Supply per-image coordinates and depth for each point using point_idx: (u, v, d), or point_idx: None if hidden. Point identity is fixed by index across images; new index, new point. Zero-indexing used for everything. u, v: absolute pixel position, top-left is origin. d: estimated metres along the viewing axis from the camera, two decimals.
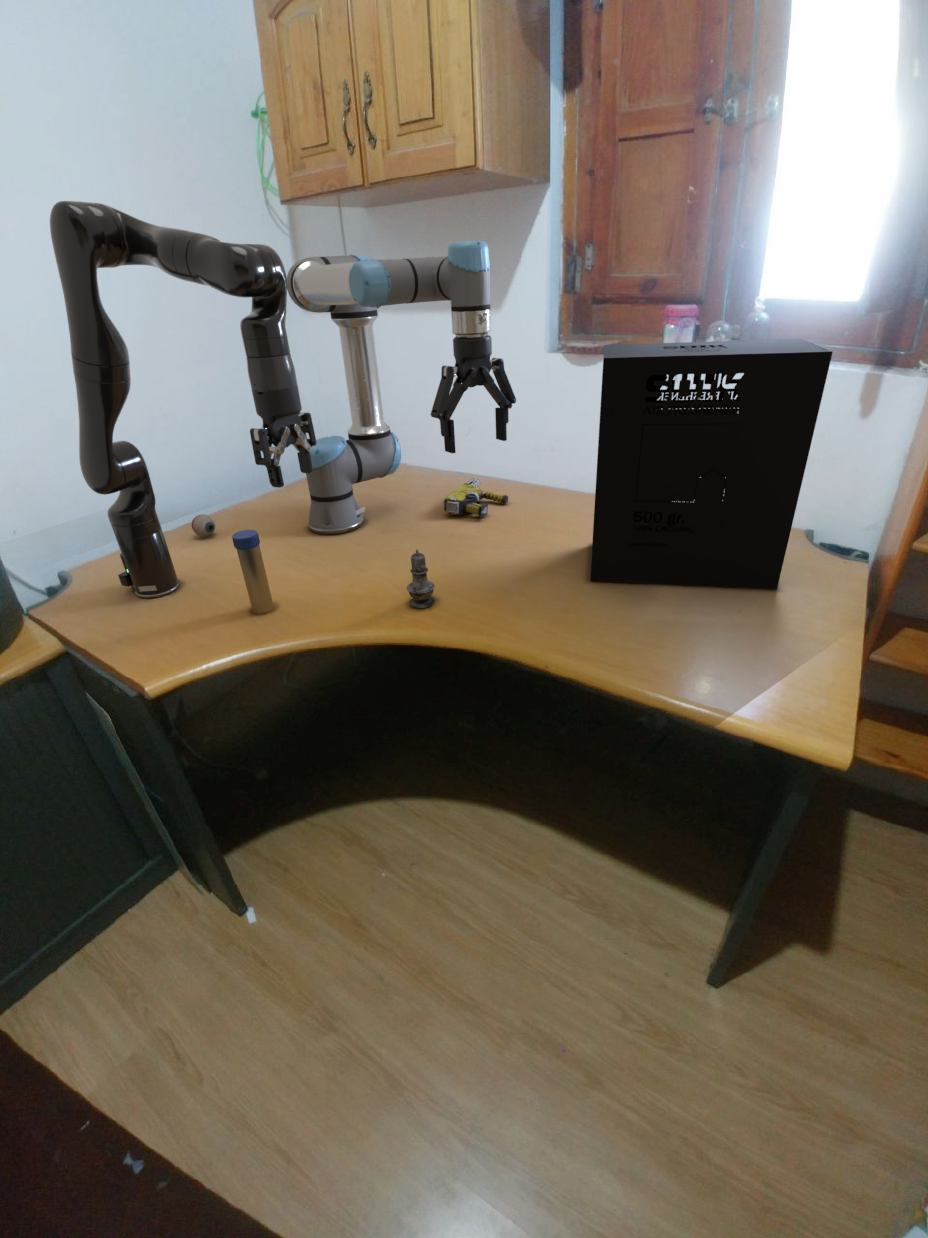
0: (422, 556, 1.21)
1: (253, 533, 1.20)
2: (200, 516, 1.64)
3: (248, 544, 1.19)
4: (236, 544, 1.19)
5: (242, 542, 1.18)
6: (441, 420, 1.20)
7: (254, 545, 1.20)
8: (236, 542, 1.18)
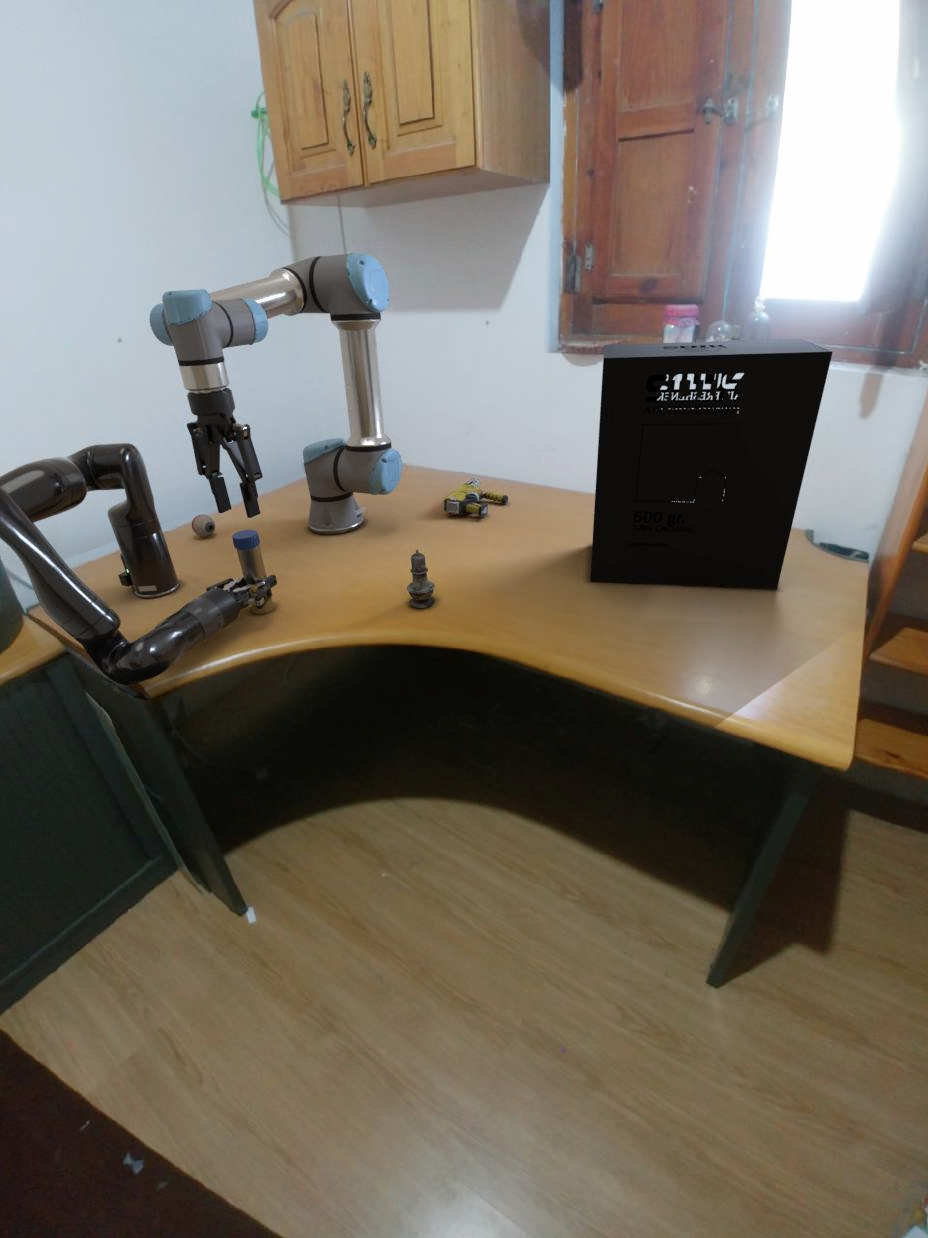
0: (422, 556, 1.21)
1: (253, 533, 1.20)
2: (200, 516, 1.64)
3: (248, 544, 1.19)
4: (236, 544, 1.19)
5: (242, 542, 1.18)
6: (252, 482, 1.12)
7: (254, 545, 1.20)
8: (236, 542, 1.18)
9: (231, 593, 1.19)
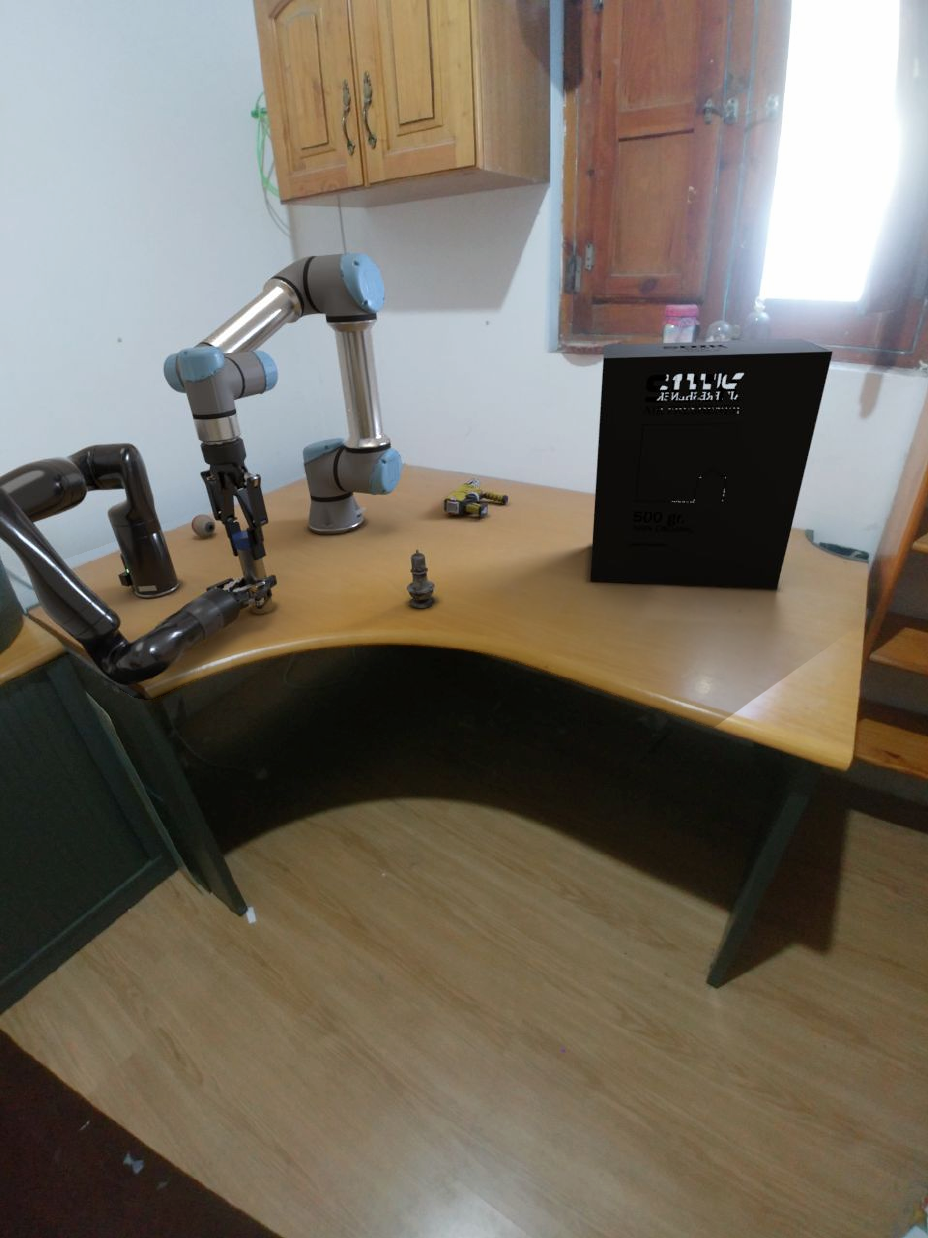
0: (422, 556, 1.21)
1: None
2: (200, 516, 1.64)
3: (247, 544, 1.19)
4: (236, 544, 1.19)
5: (242, 542, 1.18)
6: (259, 528, 1.17)
7: None
8: (236, 542, 1.18)
9: (231, 593, 1.19)
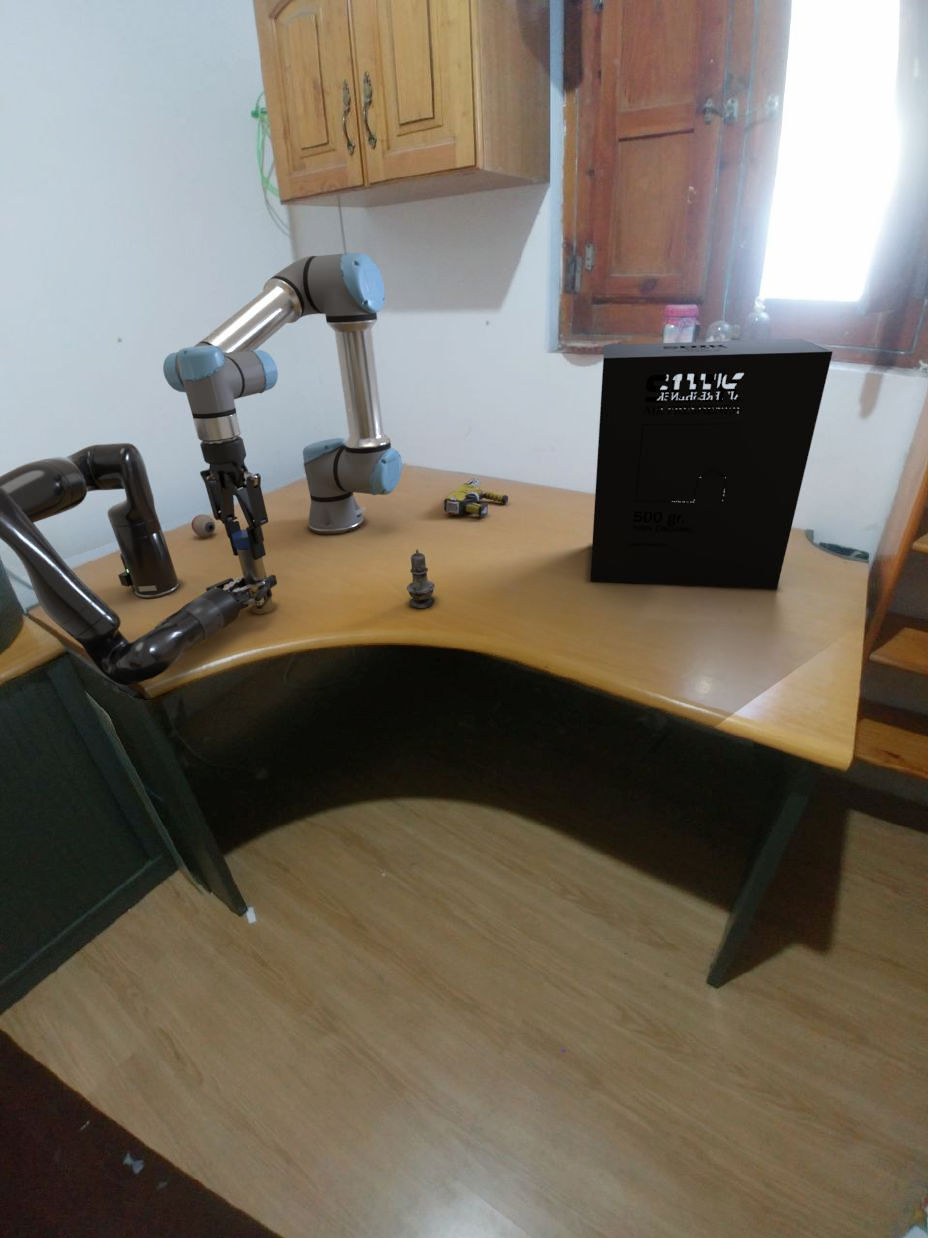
0: (422, 556, 1.21)
1: (243, 530, 1.21)
2: (200, 516, 1.64)
3: None
4: None
5: None
6: (259, 527, 1.17)
7: None
8: None
9: (231, 593, 1.19)
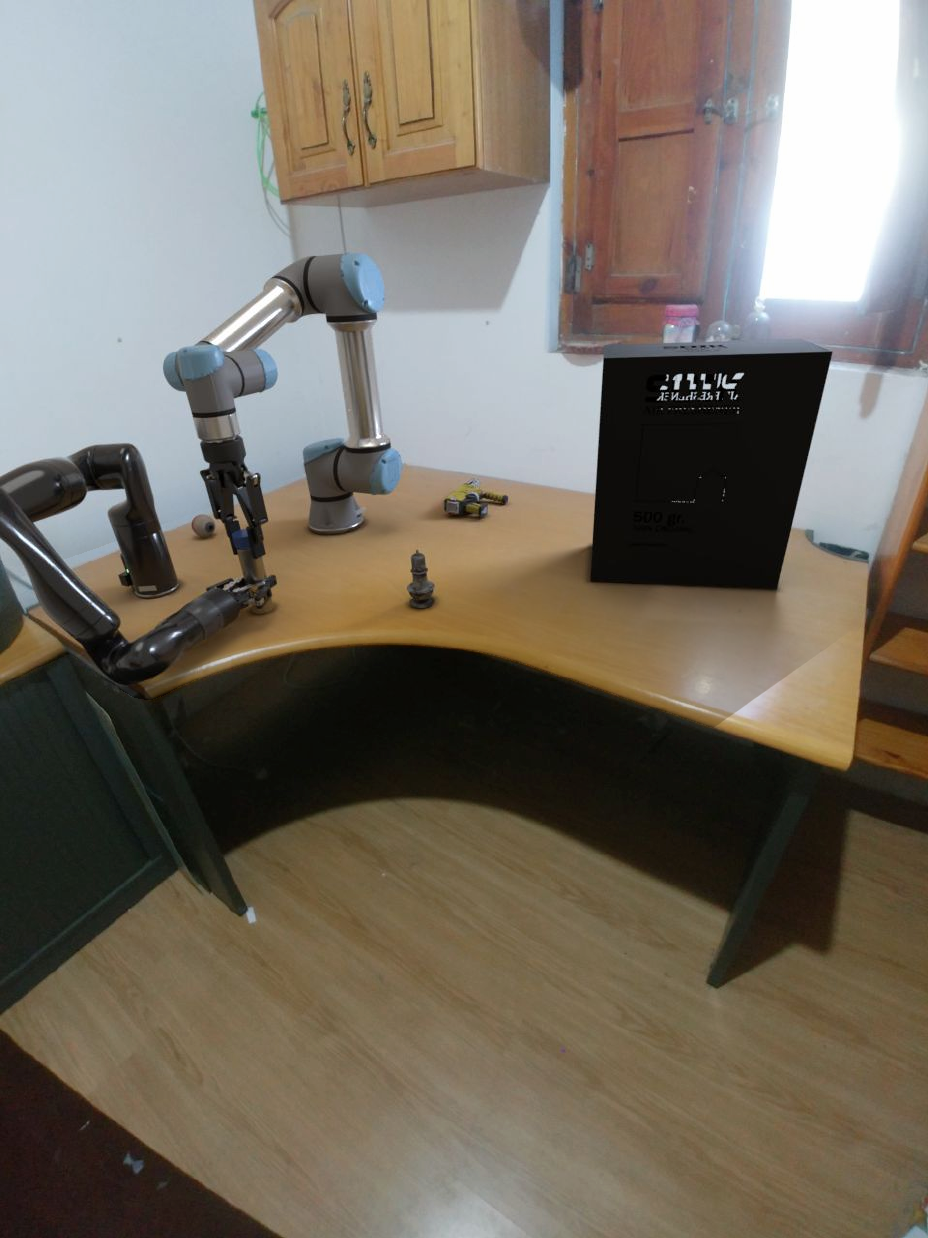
0: (422, 556, 1.21)
1: (235, 535, 1.19)
2: (200, 516, 1.64)
3: None
4: None
5: None
6: (258, 526, 1.17)
7: None
8: None
9: (231, 593, 1.19)
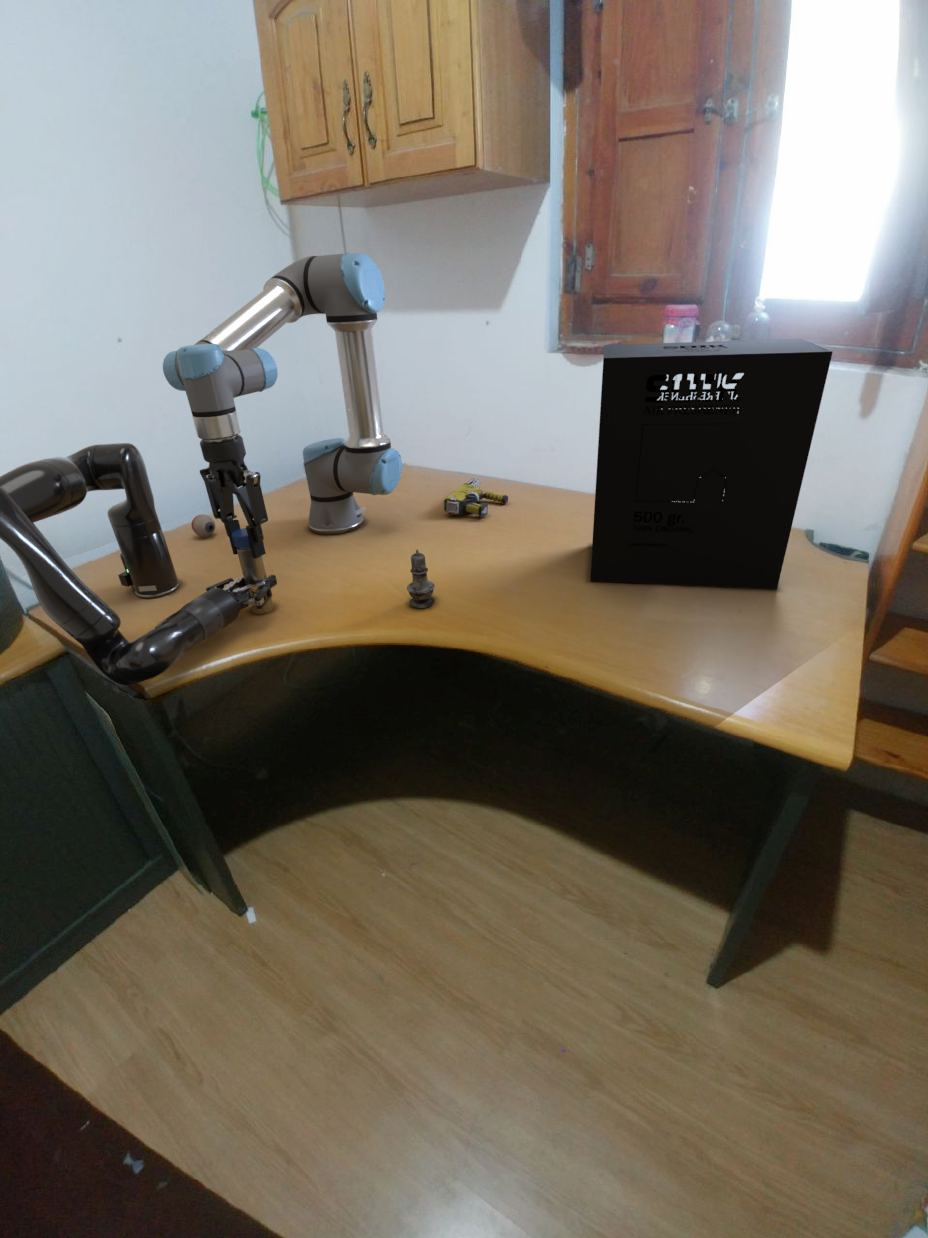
0: (422, 556, 1.21)
1: None
2: (200, 516, 1.64)
3: (240, 542, 1.18)
4: (233, 540, 1.20)
5: (234, 539, 1.18)
6: (258, 526, 1.17)
7: (246, 545, 1.19)
8: (232, 538, 1.19)
9: (231, 593, 1.19)
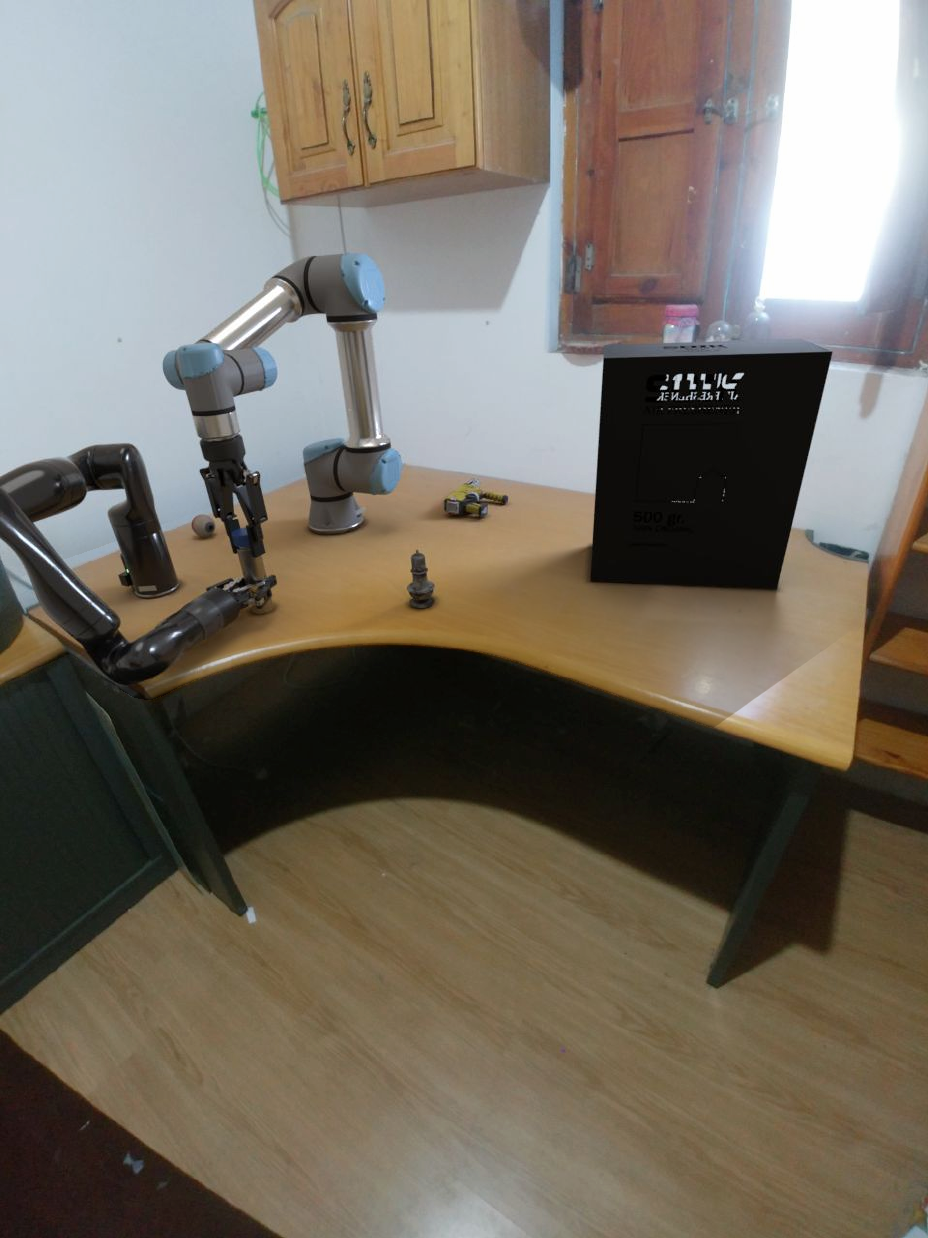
0: (422, 556, 1.21)
1: None
2: (200, 516, 1.64)
3: None
4: None
5: None
6: (258, 525, 1.17)
7: None
8: None
9: (231, 593, 1.19)
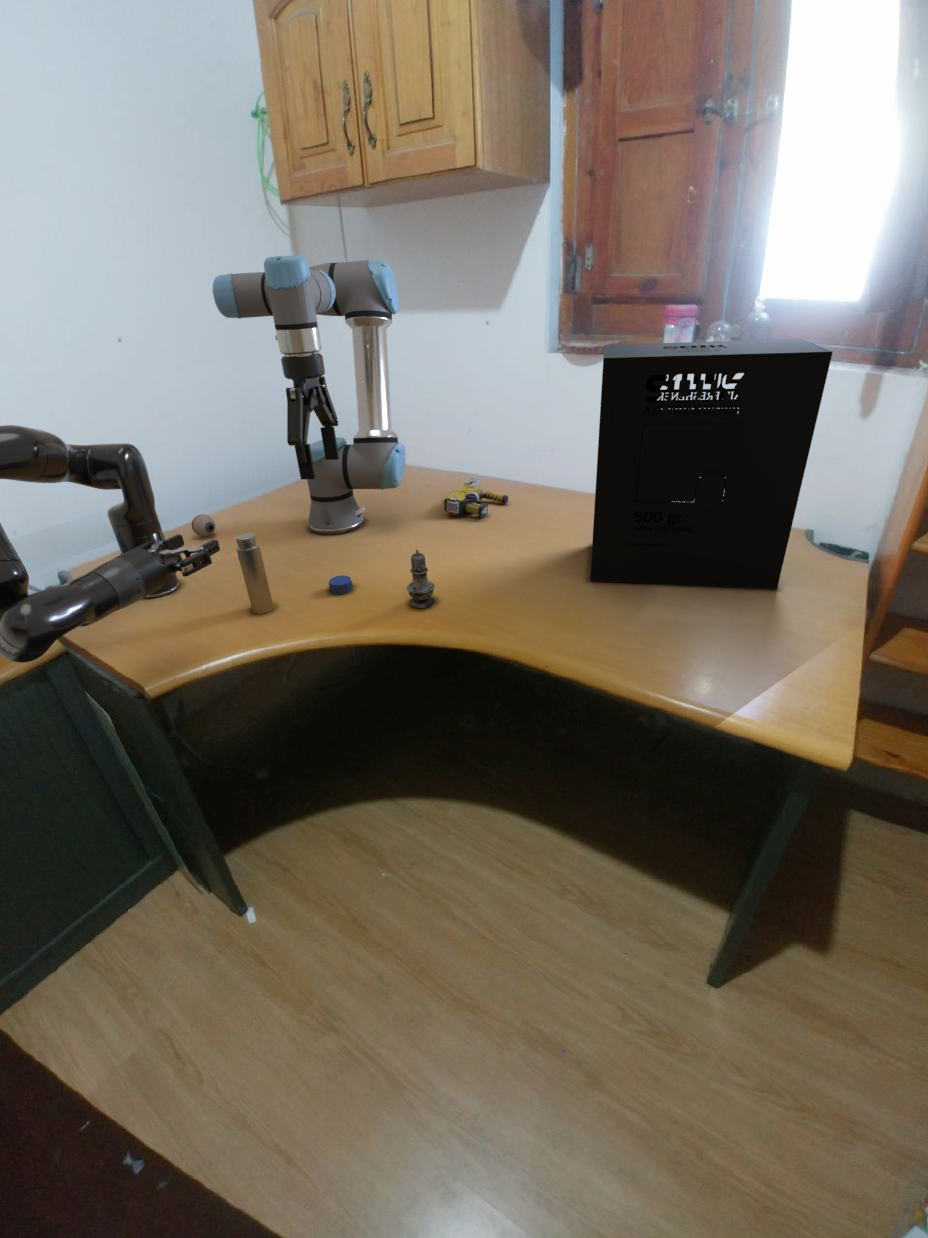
0: (422, 556, 1.21)
1: (331, 580, 1.33)
2: (200, 516, 1.64)
3: None
4: None
5: None
6: None
7: None
8: None
9: (158, 556, 1.02)
